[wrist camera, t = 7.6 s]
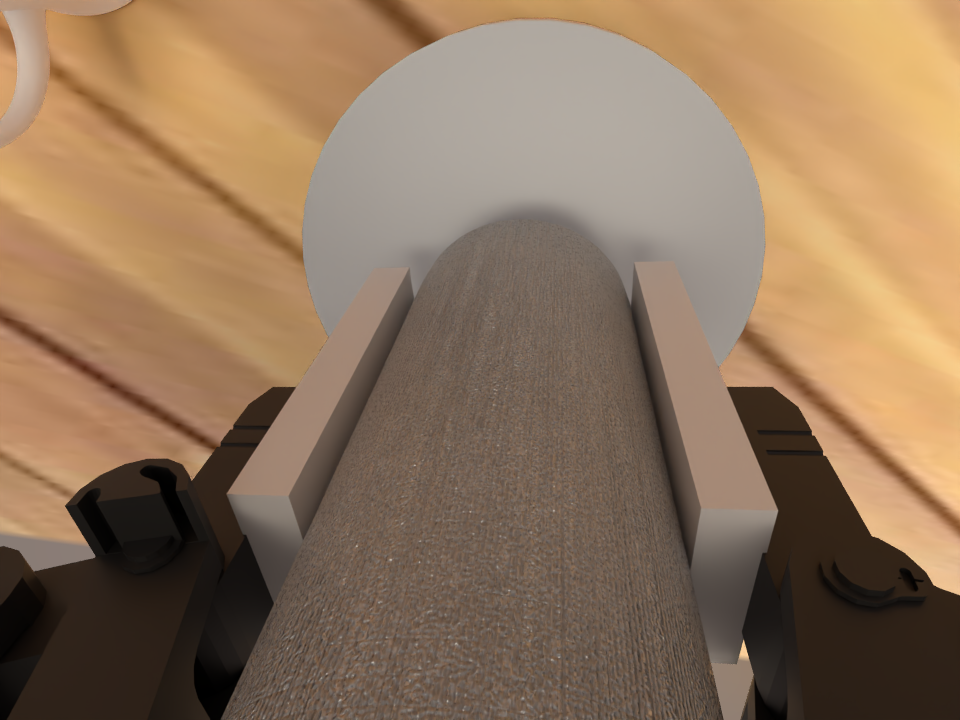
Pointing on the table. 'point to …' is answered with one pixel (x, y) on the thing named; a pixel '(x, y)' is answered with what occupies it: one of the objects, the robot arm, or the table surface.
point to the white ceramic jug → (36, 55)
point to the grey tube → (495, 516)
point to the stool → (538, 166)
